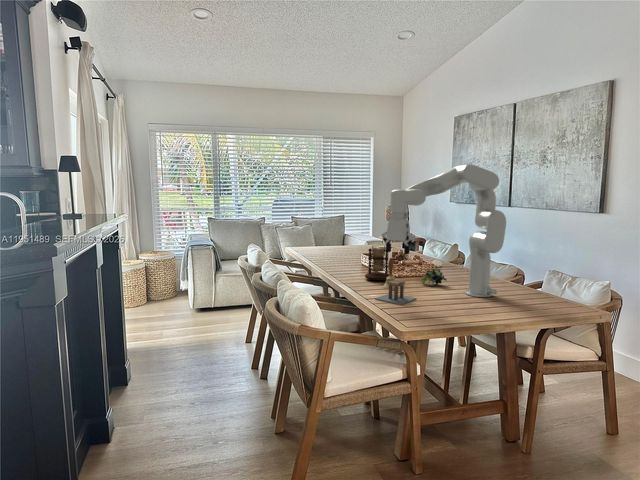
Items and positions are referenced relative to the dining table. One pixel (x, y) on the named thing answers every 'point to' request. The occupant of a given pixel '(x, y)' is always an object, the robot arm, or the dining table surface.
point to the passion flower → (433, 276)
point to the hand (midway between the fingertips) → (397, 253)
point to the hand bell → (389, 275)
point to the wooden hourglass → (377, 264)
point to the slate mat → (399, 301)
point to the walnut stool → (396, 288)
